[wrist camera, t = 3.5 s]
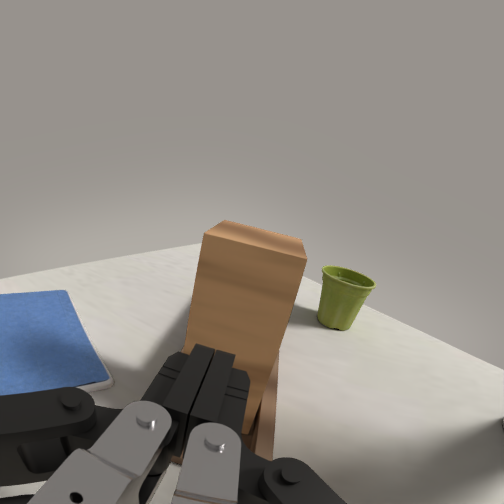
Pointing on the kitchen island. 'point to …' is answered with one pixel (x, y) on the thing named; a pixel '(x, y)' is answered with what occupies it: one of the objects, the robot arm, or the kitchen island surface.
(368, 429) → the kitchen island surface
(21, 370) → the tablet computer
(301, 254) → the block
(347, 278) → the plant pot
